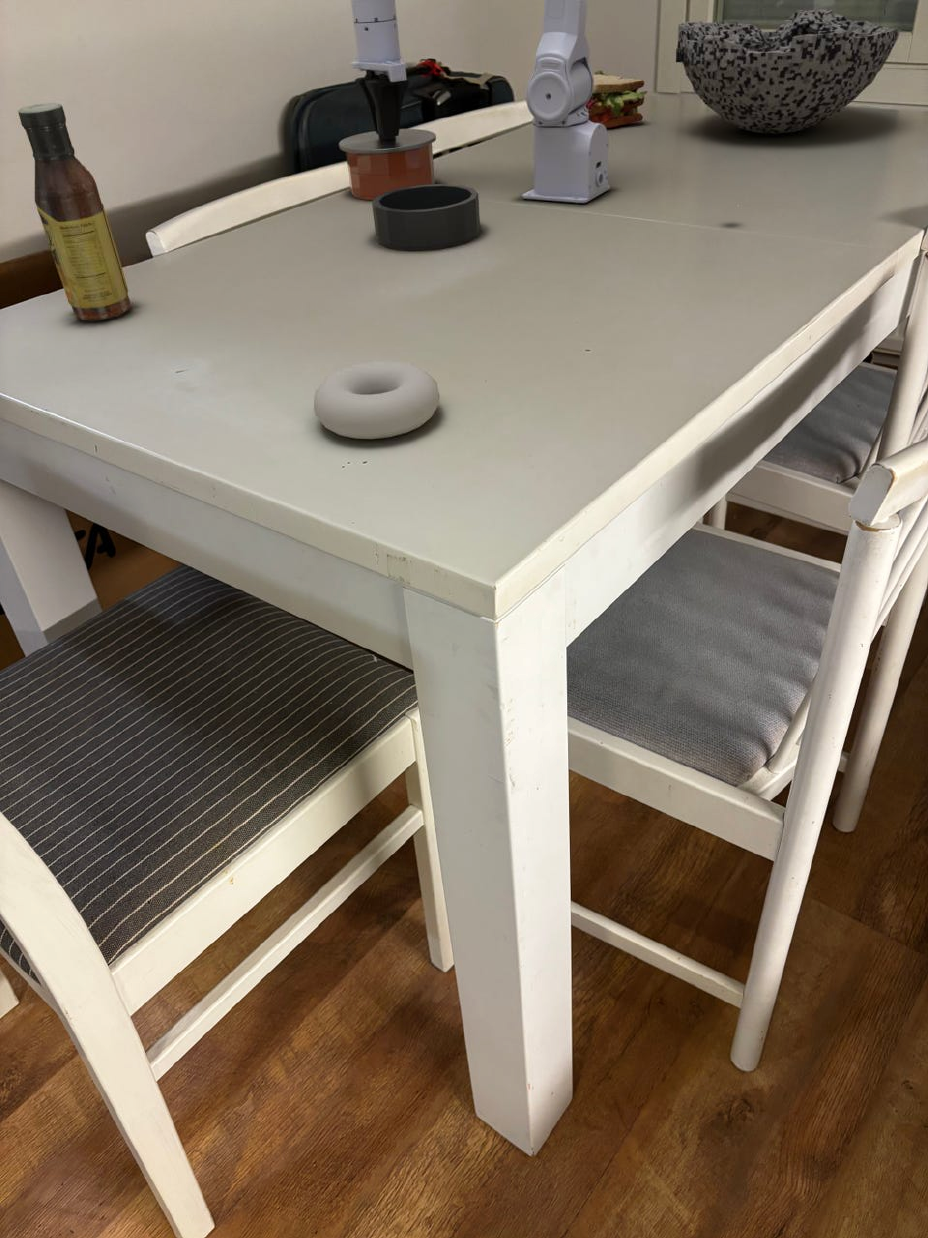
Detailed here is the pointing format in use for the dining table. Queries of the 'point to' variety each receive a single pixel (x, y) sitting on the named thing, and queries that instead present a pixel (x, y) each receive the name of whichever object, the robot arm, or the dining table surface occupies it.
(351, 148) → the lid
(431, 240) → the dark grey cake pan
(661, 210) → the dining table surface
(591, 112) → the sandwich
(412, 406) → the donut
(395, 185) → the pot
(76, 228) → the sauce bottle
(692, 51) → the bowl
